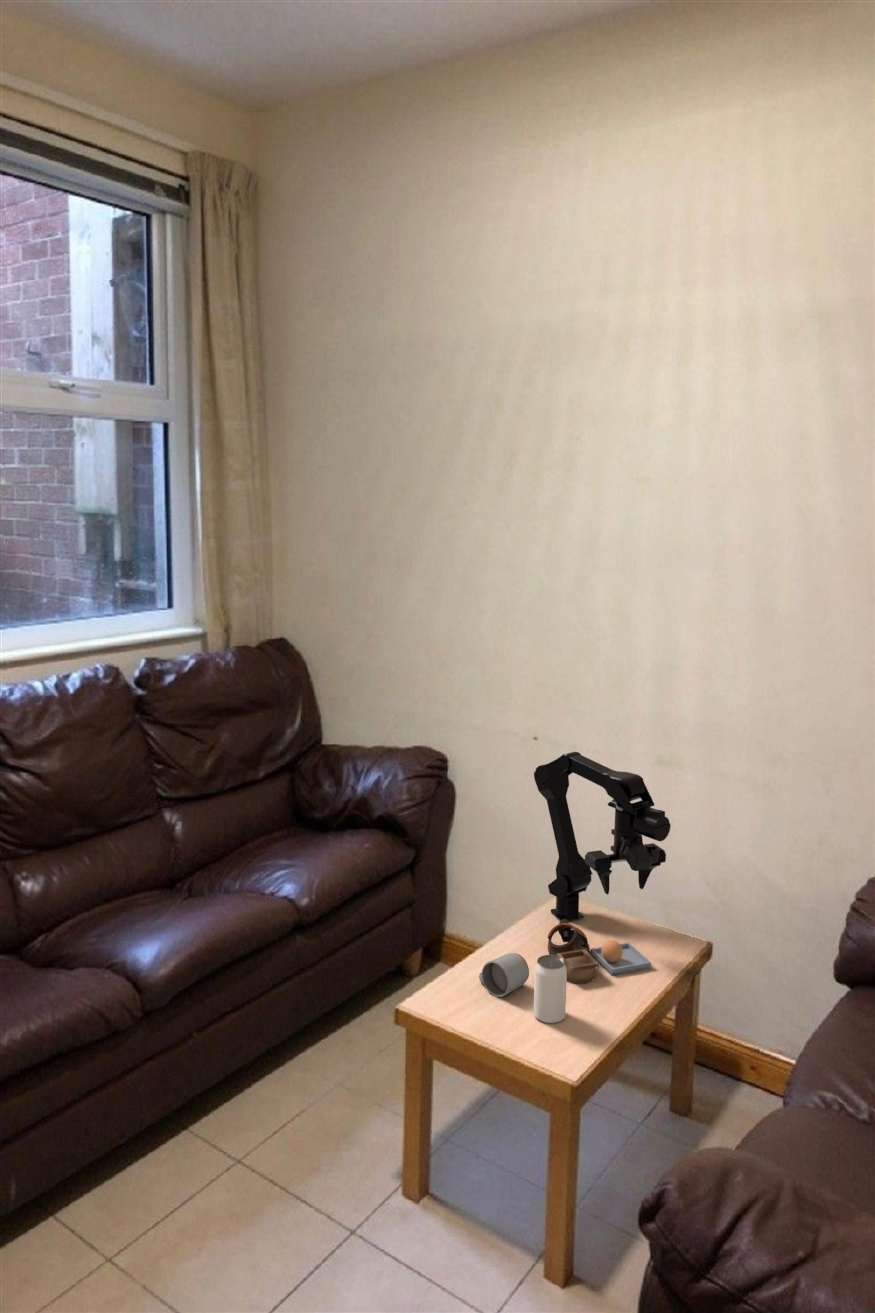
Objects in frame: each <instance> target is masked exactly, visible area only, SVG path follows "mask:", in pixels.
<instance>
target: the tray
mask: <svg viewBox="0 0 875 1313" xmlns="http://www.w3.org/2000/svg"><path fill="white" fill-rule="evenodd" d="M619 944H620V945H621V947H622V950H623V954H622V957H621V958H620V959H619V960H618V961H616V962H609V961H607V960H605V959H604V957H603V956H602V953H601V948H602V946H599V947H591V948H590V955H591V956H592V957H593V958H594V959H595V960H596V961H597V962H598V963H599V966H600V967H602V968H603V969H604V970H605V971H606V972H607V973H608V974H609V975H610V976H611V977H613V976H618V975H624V974H629V973H634V972H635V971H636V972H641V971H646V970H645V969H647V970H651V969H652V962H651V960H649V959H648V958H647V957H646V956H645V955H643V953H641V952H640V951H639V950H638V949H637V948H636V947H634V945H632V944H631V943H630V942H629V941H628V942H623V943H619ZM640 970H641V971H640Z"/></svg>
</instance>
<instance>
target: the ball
mask: <svg viewBox="0 0 875 1313" xmlns="http://www.w3.org/2000/svg"><path fill="white" fill-rule="evenodd" d="M620 944H621V943H619V942H618V941H616V940H614V939H610V940H606V941H605V942H603V944H602V945H601V947H602V948H601V953H602V956H603V957H604V959H605V960H607V961H609V962H616V961H618V960H619V959H620V958H621V957H622V954H623V950H622V947H621V945H620Z"/></svg>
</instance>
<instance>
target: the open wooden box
mask: <svg viewBox="0 0 875 1313" xmlns="http://www.w3.org/2000/svg"><path fill="white" fill-rule="evenodd" d="M555 956H559V957H561V958H562V959H563V960H564V961H565V966H566V969H567V981H566V982H567V983H571V984H580V985H582V984H588V983H591V982H593V981H594V980H595V978H596V972H597V971H596V970H597V969H596V968H599V967H600V964H599V963H598V962H597V961H596V960H595V959H594V958H593V957H592V956H591V955H590V954H589V953H588V951H587V949H586V948H581V949H575V951H569V952H563V953H557V954H556V955H555Z"/></svg>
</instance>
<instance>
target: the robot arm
mask: <svg viewBox="0 0 875 1313" xmlns="http://www.w3.org/2000/svg"><path fill="white" fill-rule="evenodd" d="M573 773H574V774H575V775H577V776H579V777H581V778H583V779H585V780H587V781H590V782H591V783H593V784H595V785H596V786H597V785H598V786H599V787H601V788H603V789H604V790H605V792H606V794H607V795H608V796H609V797H610V798H612V800H611V801H609V802H608V803H607V806H608V807H610V808H614V828H613V829H612V828H611V832H610V833H611V834H612V835H613V845H610V851H611V852H612V853H610V854H607V853H605V852H604V851H602V850H592V851H587V852H586V854H585V856H584V857H583V856H582V855H581V854H580V853H579V849H578V846H577V840H576V836H575V831H574V826H573V823H572V818H571V813H570V809H569V803H568V799H567V794H568V790H569V786H570V778H569V776H571V774H573ZM533 778H534V782H535V784H536V785H535V786H536V787H537V791H538V792H539V794H541V795H542V797H543V798H544V799H545V801H546V804H547V807H548V813H549V817H550V821H551V826H552V830H553V836H554V840H555V845H556V848H557V853H558V859H557V863H556V866H555V875H556V876H555V879H554V880H553V881H552V882H550V883H548V884H547V887H548V892H549V894H550V895H552V896H553V897H555V908H551V909H550V913H551V914H553V915H554V917H555V918H556V919H557V920H559V922H560V921H561V920H563V919H566V920H567V921H568V922H569V921H574V920H583V919H584V918H585V916H584V915H583V914H582V913H581V912H580V893H582V892H586V891H587V889H588V886H589V885H590V884H591V882H592V875H593V872H592V870H594V872H596V874H597V876H598V878H599V881H600V884H601V886H602V888H603V892H604V893H605V894H606V895H609V894H610V876H611V874H612V872H613V870H612V869H611V868H612V864H615V863H619V862H626V863H627V864H628V865H629V868H630V869H631V871H634V872H637V873H638V876H637V878H638V879H637V880H638V886H639V888H638V889H640V890H644V887H645V886H646V883H647V881H648V879H649V876H650V875H651V873H652V872H653V870H654V869H655V868H657V867H659V866H661V865H662V863H666V861H667V852H666V851H665V850H664V849H663V848H661V846H659V845H657V844H656V843H654V842H653V843H652V842H651V843H645V844H644V842H643V840H644V839H643V837H646V838H649V839H652V840H655V841H657V842H663V841H665V840H666V839H667V838H668V836H669V834H670V832H671V828H672V826H671V823H670V819H669V818H668V817H667V816H666V812H665V811H664V810H662V809H657V808H653V807H654V806H655V802H654V801H653V797H652V796H651V794H650V792H649V790H648V788H647V785H646V783H645V782H644V778H643V777H642V776H641V775H640V774H636V773H632V772H628V771H618V770H614V769H612V768H610V767H608V766H605V765H603V764H600V763H599V762H597V761H595V760H592V759H590V758H588V757H586V756H585V755H583V754H581V753H580V752H577V751H571V752H568V753H563V754H562V755H560V756H559V757H558V758H556V759H554V760H552V761H550V762H548V763H545V764H541V765H539V766H537V767H536V768H535V771H534V772H533ZM639 799H640V800H639ZM636 800H638V801H636ZM632 801H636V802H632ZM591 869H592V870H591Z"/></svg>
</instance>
